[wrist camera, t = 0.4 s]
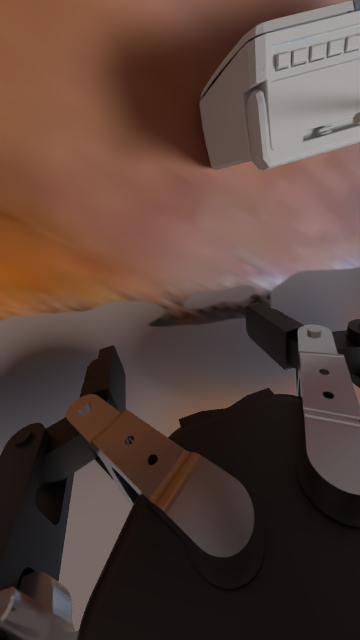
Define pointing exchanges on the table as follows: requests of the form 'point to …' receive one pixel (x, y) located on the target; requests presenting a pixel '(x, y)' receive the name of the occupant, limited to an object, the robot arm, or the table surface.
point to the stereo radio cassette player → (286, 90)
